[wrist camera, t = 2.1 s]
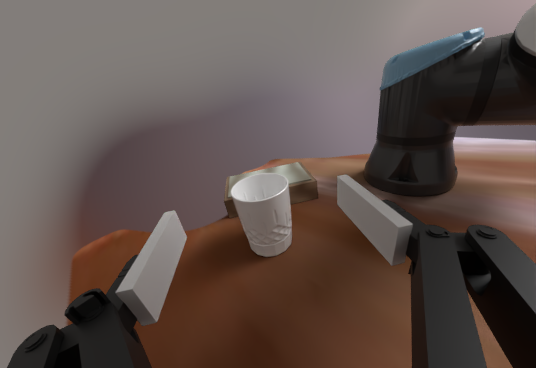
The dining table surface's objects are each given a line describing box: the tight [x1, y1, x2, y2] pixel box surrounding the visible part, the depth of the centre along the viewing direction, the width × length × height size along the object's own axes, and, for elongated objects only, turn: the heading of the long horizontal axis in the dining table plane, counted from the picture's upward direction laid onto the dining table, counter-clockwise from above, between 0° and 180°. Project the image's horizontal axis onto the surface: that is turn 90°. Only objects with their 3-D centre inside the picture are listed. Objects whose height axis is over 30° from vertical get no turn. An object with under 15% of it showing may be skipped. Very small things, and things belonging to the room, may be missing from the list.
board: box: [224, 162, 318, 218], centre depth 42 cm, size 18×11×4 cm, turn 98°
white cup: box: [231, 173, 292, 257], centre depth 28 cm, size 8×8×10 cm
